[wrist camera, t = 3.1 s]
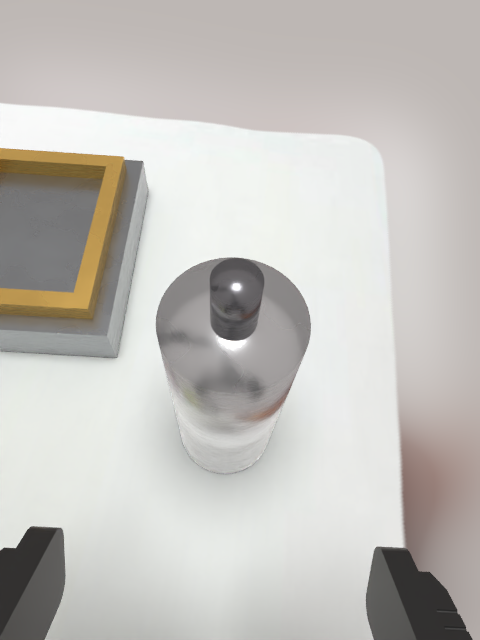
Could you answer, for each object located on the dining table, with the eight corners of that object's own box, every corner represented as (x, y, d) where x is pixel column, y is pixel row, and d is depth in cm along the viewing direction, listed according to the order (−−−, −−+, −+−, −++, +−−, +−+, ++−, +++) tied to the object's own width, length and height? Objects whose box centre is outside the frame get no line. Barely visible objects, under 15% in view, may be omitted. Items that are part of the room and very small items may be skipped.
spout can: (175, 471, 25) (133, 356, 12) (185, 383, 28) (158, 206, 15) (269, 476, 26) (330, 367, 12) (270, 388, 28) (321, 218, 15)
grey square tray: (-79, 346, 28) (-122, 312, 25) (-9, 181, 35) (-35, 135, 31) (116, 357, 29) (102, 326, 25) (148, 191, 35) (140, 147, 32)
